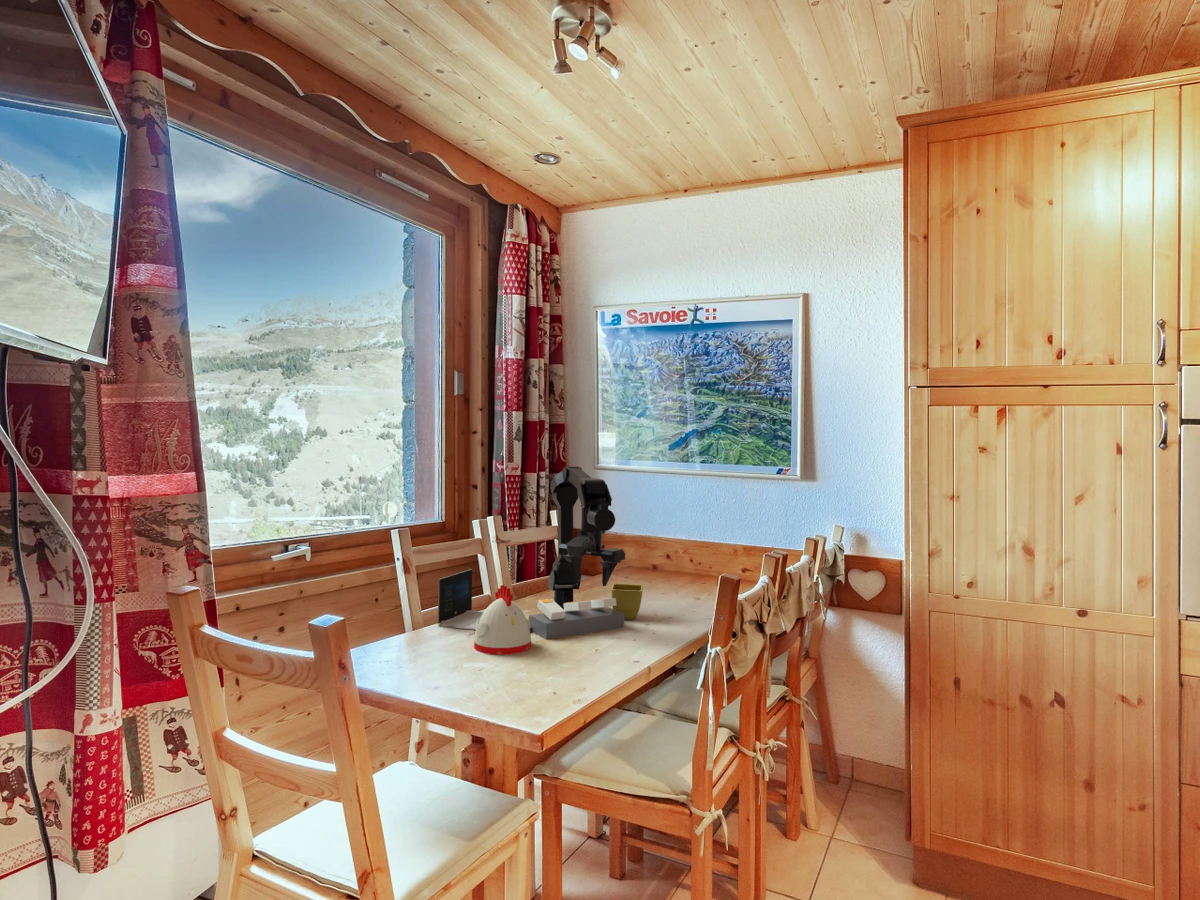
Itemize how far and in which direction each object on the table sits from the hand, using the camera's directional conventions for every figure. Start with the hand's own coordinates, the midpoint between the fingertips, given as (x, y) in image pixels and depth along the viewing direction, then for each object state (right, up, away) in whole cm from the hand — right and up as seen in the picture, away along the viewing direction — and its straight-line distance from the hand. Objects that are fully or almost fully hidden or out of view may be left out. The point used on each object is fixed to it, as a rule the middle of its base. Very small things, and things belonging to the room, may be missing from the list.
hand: (590, 583), depth 194 cm
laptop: (-33, -12, +7) cm, 36 cm away
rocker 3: (+3, -6, +4) cm, 8 cm away
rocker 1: (-10, -6, -4) cm, 13 cm away
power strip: (-6, -12, -1) cm, 14 cm away
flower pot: (+10, -13, +14) cm, 21 cm away
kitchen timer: (-21, -12, -18) cm, 30 cm away
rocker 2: (-4, -6, 0) cm, 7 cm away
